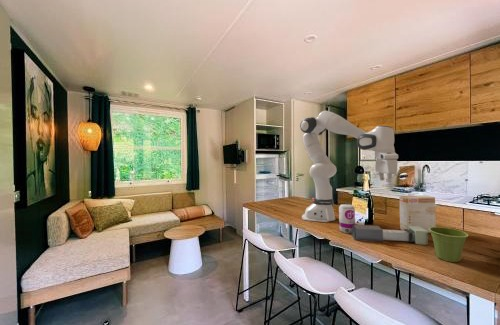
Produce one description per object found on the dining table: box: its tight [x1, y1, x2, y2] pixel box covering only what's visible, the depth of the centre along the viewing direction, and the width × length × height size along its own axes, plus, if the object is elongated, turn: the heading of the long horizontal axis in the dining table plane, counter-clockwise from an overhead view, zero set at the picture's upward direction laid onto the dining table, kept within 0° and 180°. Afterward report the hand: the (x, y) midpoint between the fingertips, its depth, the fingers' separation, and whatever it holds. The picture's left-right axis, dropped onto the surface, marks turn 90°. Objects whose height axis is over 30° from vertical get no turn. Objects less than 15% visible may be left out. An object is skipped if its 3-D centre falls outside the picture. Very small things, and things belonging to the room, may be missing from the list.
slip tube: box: [381, 228, 415, 243], centre depth 108 cm, size 21×6×5 cm, turn 76°
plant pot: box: [429, 226, 469, 263], centre depth 87 cm, size 12×12×11 cm
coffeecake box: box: [398, 194, 437, 234], centre depth 120 cm, size 15×7×20 cm, turn 84°
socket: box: [408, 226, 429, 246], centre depth 105 cm, size 5×8×6 cm, turn 166°
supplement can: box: [338, 203, 356, 234], centre depth 122 cm, size 8×8×15 cm
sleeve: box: [351, 224, 384, 243], centre depth 111 cm, size 13×7×6 cm, turn 76°
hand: (385, 181), depth 114 cm, fingers open, 8 cm apart
